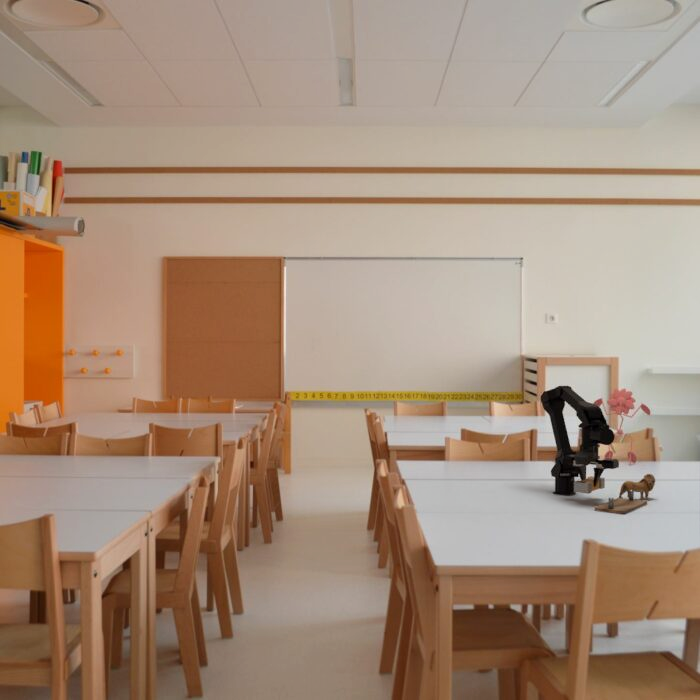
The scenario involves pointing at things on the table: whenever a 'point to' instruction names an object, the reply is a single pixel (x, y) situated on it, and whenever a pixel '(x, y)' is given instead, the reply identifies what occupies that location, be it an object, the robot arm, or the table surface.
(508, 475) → the table surface
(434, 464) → the table surface
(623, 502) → the board
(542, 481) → the table surface
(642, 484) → the lion figurine
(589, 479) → the hammer
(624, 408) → the figurine
